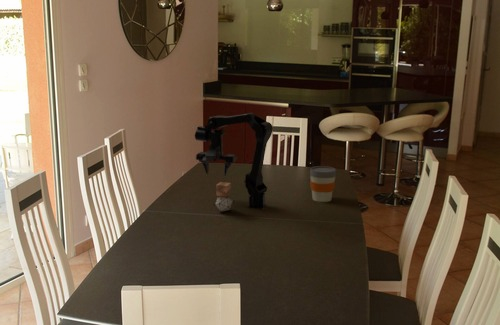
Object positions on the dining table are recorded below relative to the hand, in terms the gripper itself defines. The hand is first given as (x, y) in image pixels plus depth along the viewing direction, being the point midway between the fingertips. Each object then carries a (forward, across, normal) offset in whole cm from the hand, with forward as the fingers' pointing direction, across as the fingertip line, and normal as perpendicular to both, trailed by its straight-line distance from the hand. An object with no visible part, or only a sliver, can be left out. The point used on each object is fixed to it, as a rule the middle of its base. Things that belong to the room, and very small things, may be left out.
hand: (216, 174), depth 263 cm
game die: (+12, +10, -16) cm, 23 cm away
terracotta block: (+4, +10, -16) cm, 19 cm away
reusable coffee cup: (+12, +48, +17) cm, 52 cm away
